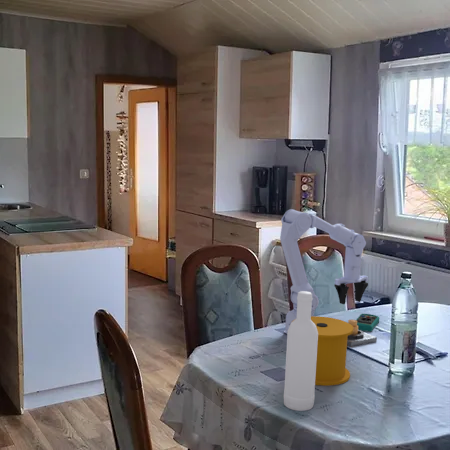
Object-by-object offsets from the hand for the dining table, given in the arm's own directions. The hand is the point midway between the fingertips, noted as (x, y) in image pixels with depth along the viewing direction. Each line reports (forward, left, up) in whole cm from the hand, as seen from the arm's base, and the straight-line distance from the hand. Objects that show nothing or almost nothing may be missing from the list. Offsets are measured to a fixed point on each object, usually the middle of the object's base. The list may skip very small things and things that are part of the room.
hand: (350, 302), depth 226 cm
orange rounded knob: (-7, -9, -8) cm, 14 cm away
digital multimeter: (+9, 0, -11) cm, 14 cm away
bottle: (-57, -42, -10) cm, 72 cm away
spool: (-38, -28, -10) cm, 48 cm away
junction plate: (-7, -9, -10) cm, 15 cm away
